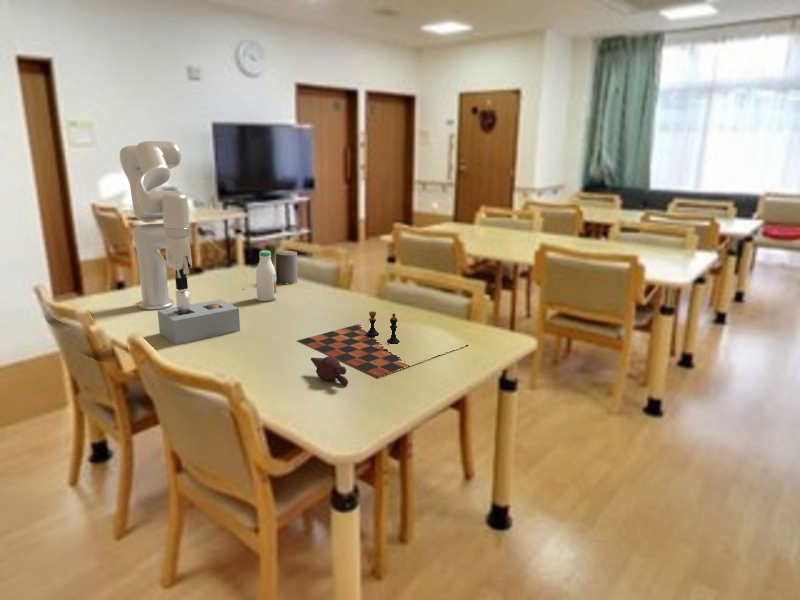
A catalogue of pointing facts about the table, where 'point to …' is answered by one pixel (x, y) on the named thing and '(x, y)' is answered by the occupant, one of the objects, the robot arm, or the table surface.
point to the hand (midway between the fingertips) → (182, 289)
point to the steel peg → (183, 302)
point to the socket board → (198, 322)
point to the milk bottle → (265, 278)
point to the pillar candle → (286, 267)
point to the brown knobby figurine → (330, 369)
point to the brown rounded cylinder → (212, 306)
